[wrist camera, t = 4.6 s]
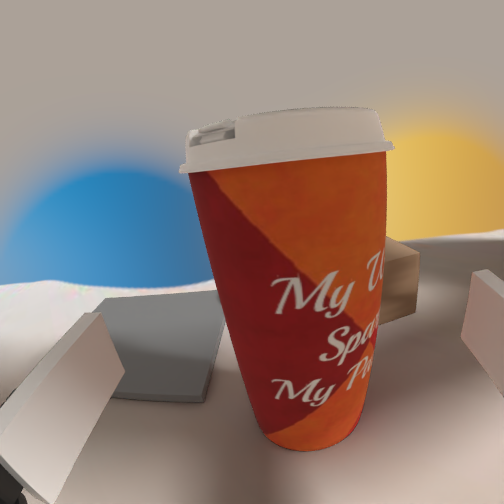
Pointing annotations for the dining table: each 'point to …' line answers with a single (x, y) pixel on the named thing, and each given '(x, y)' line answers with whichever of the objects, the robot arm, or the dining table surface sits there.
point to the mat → (165, 343)
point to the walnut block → (399, 281)
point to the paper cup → (297, 259)
